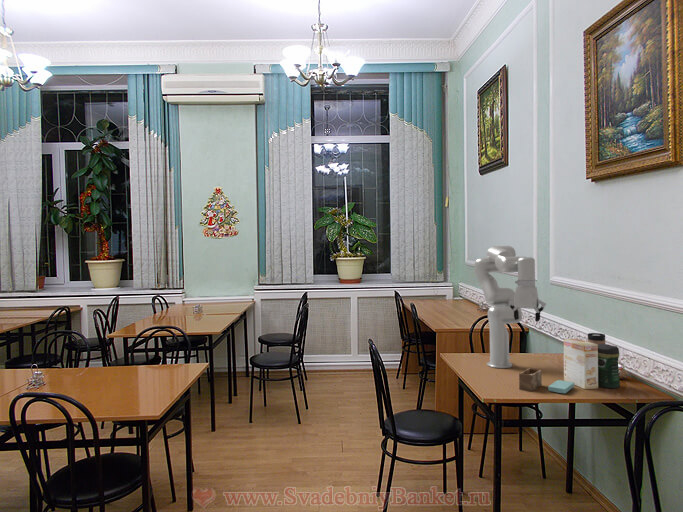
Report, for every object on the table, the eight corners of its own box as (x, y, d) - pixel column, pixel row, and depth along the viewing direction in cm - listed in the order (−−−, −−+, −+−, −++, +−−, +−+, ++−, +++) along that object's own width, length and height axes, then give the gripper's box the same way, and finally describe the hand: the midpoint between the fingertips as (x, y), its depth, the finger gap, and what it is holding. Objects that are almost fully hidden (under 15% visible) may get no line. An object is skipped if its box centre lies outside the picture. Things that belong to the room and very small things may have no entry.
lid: (557, 385, 224) (557, 379, 224) (574, 388, 219) (574, 382, 219) (548, 392, 214) (548, 386, 214) (565, 395, 209) (565, 389, 209)
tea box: (529, 383, 227) (529, 368, 227) (541, 385, 224) (541, 369, 224) (519, 389, 218) (519, 373, 218) (532, 391, 215) (532, 375, 215)
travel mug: (605, 374, 240) (604, 333, 240) (606, 378, 233) (605, 336, 233) (587, 373, 243) (587, 332, 243) (588, 376, 236) (587, 335, 236)
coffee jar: (623, 387, 218) (623, 345, 217) (610, 389, 215) (609, 347, 215) (604, 382, 227) (604, 341, 227) (591, 384, 224) (591, 343, 224)
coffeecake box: (599, 388, 218) (598, 344, 217) (584, 389, 216) (584, 345, 216) (577, 379, 232) (576, 338, 232) (563, 380, 231) (562, 338, 231)
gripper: (505, 283, 234) (505, 319, 234) (542, 284, 223) (543, 322, 223) (511, 282, 240) (511, 317, 240) (548, 283, 228) (548, 320, 229)
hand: (526, 320), depth 231 cm, fingers open, 9 cm apart
